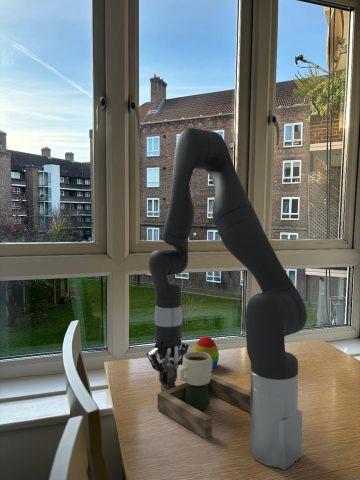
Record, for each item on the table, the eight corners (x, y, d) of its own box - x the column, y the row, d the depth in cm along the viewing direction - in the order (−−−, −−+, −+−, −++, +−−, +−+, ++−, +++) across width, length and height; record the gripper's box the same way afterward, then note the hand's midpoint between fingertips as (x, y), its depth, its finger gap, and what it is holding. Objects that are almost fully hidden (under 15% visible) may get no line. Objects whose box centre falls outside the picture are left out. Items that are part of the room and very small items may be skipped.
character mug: (202, 394, 104) (202, 347, 103) (221, 404, 99) (221, 354, 98) (171, 408, 97) (171, 357, 96) (190, 419, 91) (190, 365, 91)
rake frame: (257, 410, 95) (257, 383, 94) (205, 438, 83) (205, 407, 83) (188, 378, 114) (188, 355, 114) (138, 397, 102) (137, 371, 102)
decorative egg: (189, 370, 121) (189, 339, 120) (198, 361, 128) (198, 331, 127) (214, 374, 117) (214, 342, 117) (221, 364, 125) (221, 334, 124)
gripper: (156, 329, 98) (156, 395, 100) (196, 319, 107) (195, 380, 109) (139, 323, 104) (139, 385, 105) (178, 314, 113) (178, 371, 114)
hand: (168, 382), depth 107 cm, fingers closed on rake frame, 2 cm apart
